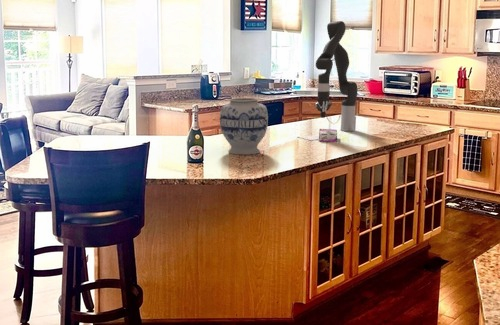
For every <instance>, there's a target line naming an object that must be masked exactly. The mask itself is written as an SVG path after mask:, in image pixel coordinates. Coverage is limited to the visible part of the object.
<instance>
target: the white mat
mask: <svg viewBox="0 0 500 325" xmlns="http://www.w3.org/2000/svg"><path fill="white" fill-rule="evenodd" d="M297 138H299V139H302V140H306V141H319V134H312V135H300V136H297Z"/></svg>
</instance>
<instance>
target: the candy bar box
mask: <svg viewBox="0 0 500 325" xmlns="http://www.w3.org/2000/svg"><path fill="white" fill-rule="evenodd" d="M318 135H319V140H318V141H319V142H331V143H333V142H334V143H337V141H338V130H337V129H331V128H330V129H328V128H319V132H318Z"/></svg>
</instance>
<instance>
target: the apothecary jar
mask: <svg viewBox="0 0 500 325" xmlns="http://www.w3.org/2000/svg"><path fill="white" fill-rule="evenodd" d="M258 101H259V99H258V98H255V97H238V98H230V99H229V103H227V104H225V105H223V106H222V107H221V108H220V111H219V124H220V125H219V126H220V130H221V133H222V135H223V137H224V139H225V140H226V141H227V143H228V144H229V145H230V149H228V153H229V154H231V155H236V156H237V155H239V156H240V155H241V156H243V155H247V156H248V155H249V156H250V155H256V154H259V153H260V151H261V150H260V149H259V148H258V146H259V144H260V143H261V141H262V140H263V139H264V137H265V136H266V133H267V130H268V125H269V124H268V123H269V113H268V109H267V106H266V105H265V104H263V103H260V102H258Z"/></svg>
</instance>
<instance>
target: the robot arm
mask: <svg viewBox="0 0 500 325" xmlns="http://www.w3.org/2000/svg"><path fill="white" fill-rule="evenodd" d="M326 26H327V27H326V28H327V29H326V30H327V35H328V38H329V41H328V42H327V43H326V44H324V45H325V46H324V48H323V50H322V53H321V54H320V55H319V56H318V57H317V59H316V61H315V68H316V69H317V70H320V71H321V70H322V71H323V70H324V72H322V73H319V74H318V78H317V80H318V81H317V102H316V103H314V106H315V108H316V109H317V111H318V112H320V117H321V118H322V119H325V118H326V112H327V111H329V110H330V108H331V106H332V105H333V102H331V101H330V92H331V91H330V90H331V87H330V86H331V85H330V77H331V72H332V68H333V65H334V64H335V67H336V72H337V73H336V74H337V79H338V86H339V93H341V95H344V96H346V99H344V100H342V101H341V109H340V110H341V112H340V113H341V116H340V131H342V132H354V131H356V129H357V128H356V127H357V124H356V123H357V122H356V121H357V116H356V103H357V100H358V99H357V97H358V85H357V83H356V82H355V81H349V80H348V78H347V74H348V69H349V66H350V59H349V58H350V57H349V54H348V52H347V50H346V49H345V48H344V47H343V46H342V45H341V44H340V43H341V41H342V39H343V37H344V35H345V33H346V30H347V29H346V28H347V27H346V24H345V22H344V21H342V20H339V21H338V20H337V21H330V22H328V23H327V25H326ZM332 59H334V62H333V60H332Z"/></svg>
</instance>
